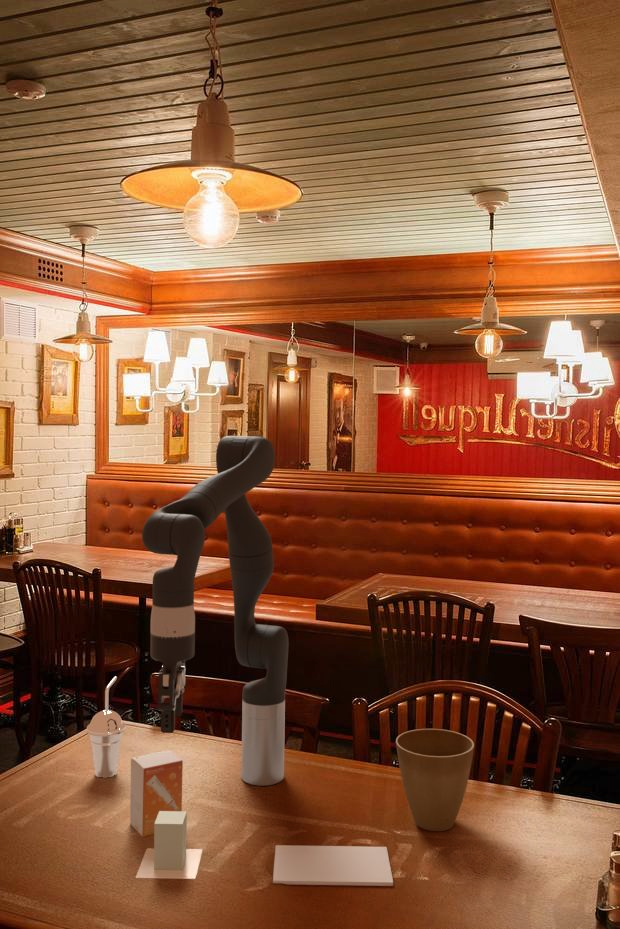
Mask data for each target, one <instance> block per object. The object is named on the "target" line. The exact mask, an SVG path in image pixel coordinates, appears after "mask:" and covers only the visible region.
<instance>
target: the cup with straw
mask: <svg viewBox="0 0 620 929" xmlns="http://www.w3.org/2000/svg"><path fill="white" fill-rule="evenodd" d="M117 679H118V676H116V675H115V676H113V678H112V679H111V680H110V682H109V683H108V684H107V685H106V687H105V691H104V709H103V710H101V711H98V712H97V713H95V715H93V716H92V719H91V720H90V723H88V725H87V726H86V730H85V732H86V734H87V735H89V739H90V743H91V748H92V756H93V757H92V758H93V767H94V771H95V773H94V774H95V777H97V778H99V777H103V778H102V779H107V777H109V778H112V777H114V775H115V776H116V775H117V773H118V772H117V770H118V764H119V757H120V748H121V741H122V738H123V733H125V732H126V731H127V730H126V729H127V726H126V723H125V722H124V721H123V720H122V717H121V716H120V714H119V713H117V712H116V711H114V710H111V709H109V692H110V688H111V687H112V686H113V684H114V683H115V682H116V680H117Z"/></svg>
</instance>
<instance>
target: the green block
mask: <svg viewBox="0 0 620 929" xmlns="http://www.w3.org/2000/svg"><path fill="white" fill-rule="evenodd" d="M187 819H188V816H187V810H185V811H183V810H182V811H159V813H158V816H157V818H156V821H155V823H154V834H153V836H154V837H153V841H154V842H153V844H154V845H153V848H154V870H182V869H183V866H184V862H185V859H186V849H187V823H188V822H187Z"/></svg>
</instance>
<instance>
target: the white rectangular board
mask: <svg viewBox="0 0 620 929" xmlns="http://www.w3.org/2000/svg"><path fill="white" fill-rule="evenodd" d="M274 849H275V850H274V862H273V874H272V876H273V877H272V884H284V885H298V886H299V885H306V886H307V885H308V886H364V887H365V886H366V887H369V886H370V887H371V886H372V887H376V886H379V887H381V886H382V887H394V880H393V873H392V868H391V863H390V857H389V852H388V848H387V846H357V845H356V846H354V845H353V846H352V845H351V846H349V845H296V844H295V845H294V844H293V845H290V844H288V845H286V844H285V845H284V844H281V845H280V844H277V845H276V844H275V848H274Z"/></svg>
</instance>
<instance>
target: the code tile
mask: <svg viewBox="0 0 620 929" xmlns="http://www.w3.org/2000/svg"><path fill="white" fill-rule="evenodd" d="M203 850H204V849H203V848H186V859H185V862H184V866H183V869H182V870H154V847H152V848H150V847H148V848H146V850H145V852H144V855H143V857H142V860H141V863H140V865H139V868H138V870H137V873H136V875H135V878H136V879H170V880H171V879H172V880H173V879H175V880H176V879H178V880H179V879H181V880H183V879H184V880H196V877H197V873H198V869H199V866H200V862H201V858H202V855H203V854H202V853H203Z"/></svg>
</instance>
